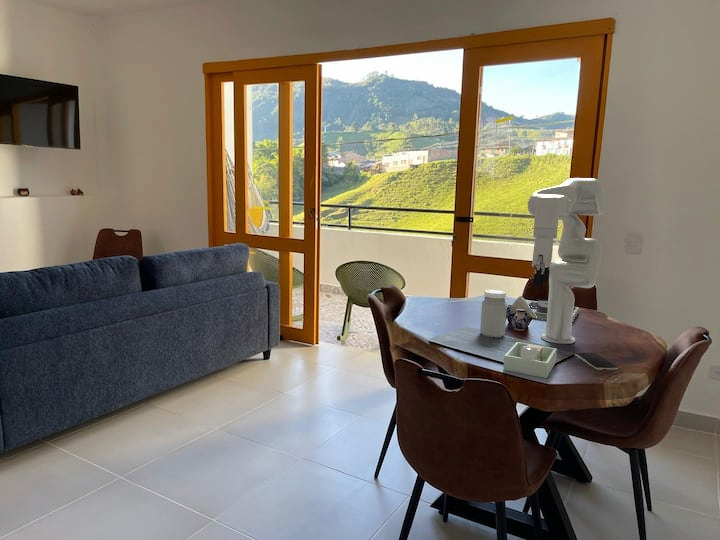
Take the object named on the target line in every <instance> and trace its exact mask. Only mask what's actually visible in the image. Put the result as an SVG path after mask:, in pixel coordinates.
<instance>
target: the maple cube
mask: <svg viewBox="0 0 720 540" xmlns="http://www.w3.org/2000/svg"><path fill="white" fill-rule="evenodd" d="M533 345H534V344H532V345H527V346H531V347H534V348H536V349H537V356H536V360H537V361H542V352H543V347H539V346H540V345H538V346H533Z"/></svg>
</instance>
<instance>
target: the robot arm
mask: <svg viewBox="0 0 720 540" xmlns="http://www.w3.org/2000/svg"><path fill="white" fill-rule="evenodd" d="M607 206H608V201H607V197H606V193H605V189H604V186H603V184H602V182H601V181H600V180H599V179H597V178H592V177H589V178H586V177H585V178H583V177H582V178H580V177H572V178H568V179H566V180H565V181H563V182H562V183H561V184H560V185H556V186H551V187H548V188H543V189H539V190H537V191H535V192H534V193H532V194H531V196H530V197H529V199H528V201H527V211H528V213H529V214H530V215H532V216H534V221H533V222H534V223H533V236H532V237H533V238H535V239H534V245H533V251H532V261H531V266H532V268H534V267H535V268H534V275H533V286H537V287H544V286H545V282H548V299H547V301H548V311H547V321H546V322H545V332H543V333H541V335H540V338H541V339H542V340H543V341H546V342H549V343H553V344H558V345H568V344H569V345H570V344H573V343H575V342H576V338H575V337H574V336H573V335H572V330H573V323H572V320H573V310H574V307H575V294H574V292H573V290H572V289H571V288H570V287H574V288H582V289H591V288H593V287H594V286H595V284H596V281H597V278H598V275H599V270H600V265H601V260H602V255H603V244H602V242H601V240H599V239H596V238H592V237H591V238H590V237H586V232H587V228H586V225H585V223H584V222H583V221H582V219H580V217H579V216H593V217H594V216H595V217H599V216H602V215H603V214H605V212H606V210H607ZM578 215H579V216H578ZM559 218H561V221H562V225H563V227H562V232H561V236H560V240H559V244H558V249H557V255H558V257H559V258H560V259H561V260H555V261H552V259H553V251H554V248H553V247H554V239H557V237H558V228H559Z"/></svg>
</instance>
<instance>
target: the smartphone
mask: <svg viewBox="0 0 720 540" xmlns="http://www.w3.org/2000/svg"><path fill="white" fill-rule="evenodd" d="M574 356H575V357H577V358H578V359H579V360H582V361H583V362H584V363H586V364H587V365H589V366H590V367H592V368H594V369H595V370H597V371H598V370H600V371H601V370H603V369H607V370H619V367H618V366H617V365H615V364H614V363H612V362H611V361H609V360H607V359H605V358H604V357H602V356H600V355H599V354H597V353H595V352H575V353H574Z"/></svg>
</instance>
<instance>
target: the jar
mask: <svg viewBox="0 0 720 540" xmlns="http://www.w3.org/2000/svg"><path fill="white" fill-rule="evenodd" d="M483 294H484V295H483V296H484V297H483V299H484V300H483V301H482V302H481V309H480V310H481V311H480V313H481V314H480V326H479V327H480V328H479V332H480V333H481V335H483V336H484V337H486V336H487V338H492V337H495V338H494V339H498V338H502V337H504V335H505V334H506V326H507V325H506V322H507V321H506V320H507V311H508V310H507V309H508V303H507V302H506V296H507V292H506V291H504V290H502V289H491V288H490V289H485V290H484V293H483Z"/></svg>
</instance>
